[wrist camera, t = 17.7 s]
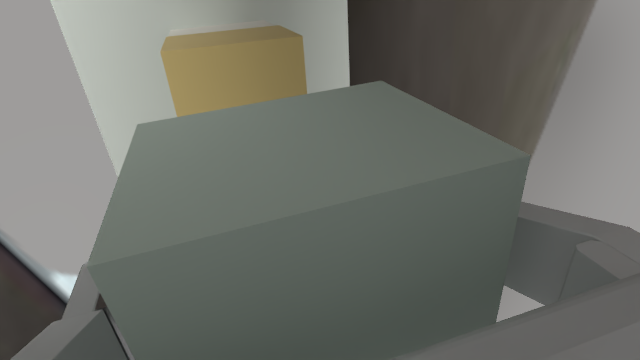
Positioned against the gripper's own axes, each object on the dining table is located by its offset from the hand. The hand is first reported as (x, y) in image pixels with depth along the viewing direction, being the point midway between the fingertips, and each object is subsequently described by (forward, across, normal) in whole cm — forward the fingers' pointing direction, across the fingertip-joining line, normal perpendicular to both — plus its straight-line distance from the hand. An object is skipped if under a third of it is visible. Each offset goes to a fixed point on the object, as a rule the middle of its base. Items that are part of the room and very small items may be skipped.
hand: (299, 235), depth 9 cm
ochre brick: (+15, 0, 0) cm, 15 cm away
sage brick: (+2, 0, 0) cm, 2 cm away
